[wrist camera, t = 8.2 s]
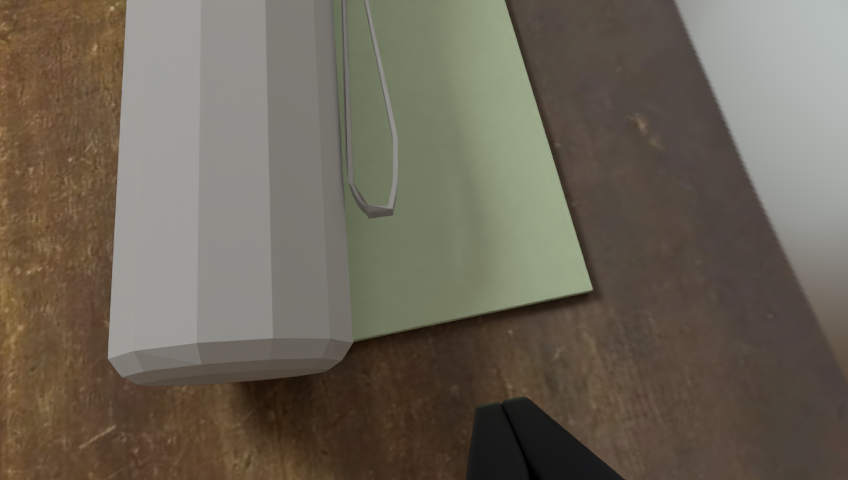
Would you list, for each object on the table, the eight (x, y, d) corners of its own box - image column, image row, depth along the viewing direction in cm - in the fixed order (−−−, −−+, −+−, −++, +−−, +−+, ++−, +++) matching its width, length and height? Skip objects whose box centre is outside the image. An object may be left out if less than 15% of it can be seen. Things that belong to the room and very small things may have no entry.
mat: (590, 292, 22) (593, 290, 21) (283, 356, 21) (280, 355, 21) (471, -99, 28) (472, -106, 27) (228, -58, 27) (225, -65, 27)
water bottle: (34, 387, 13) (96, -338, 20) (170, 390, 21) (183, -137, 28) (419, 351, 14) (356, -347, 20) (416, 366, 21) (371, -146, 28)
